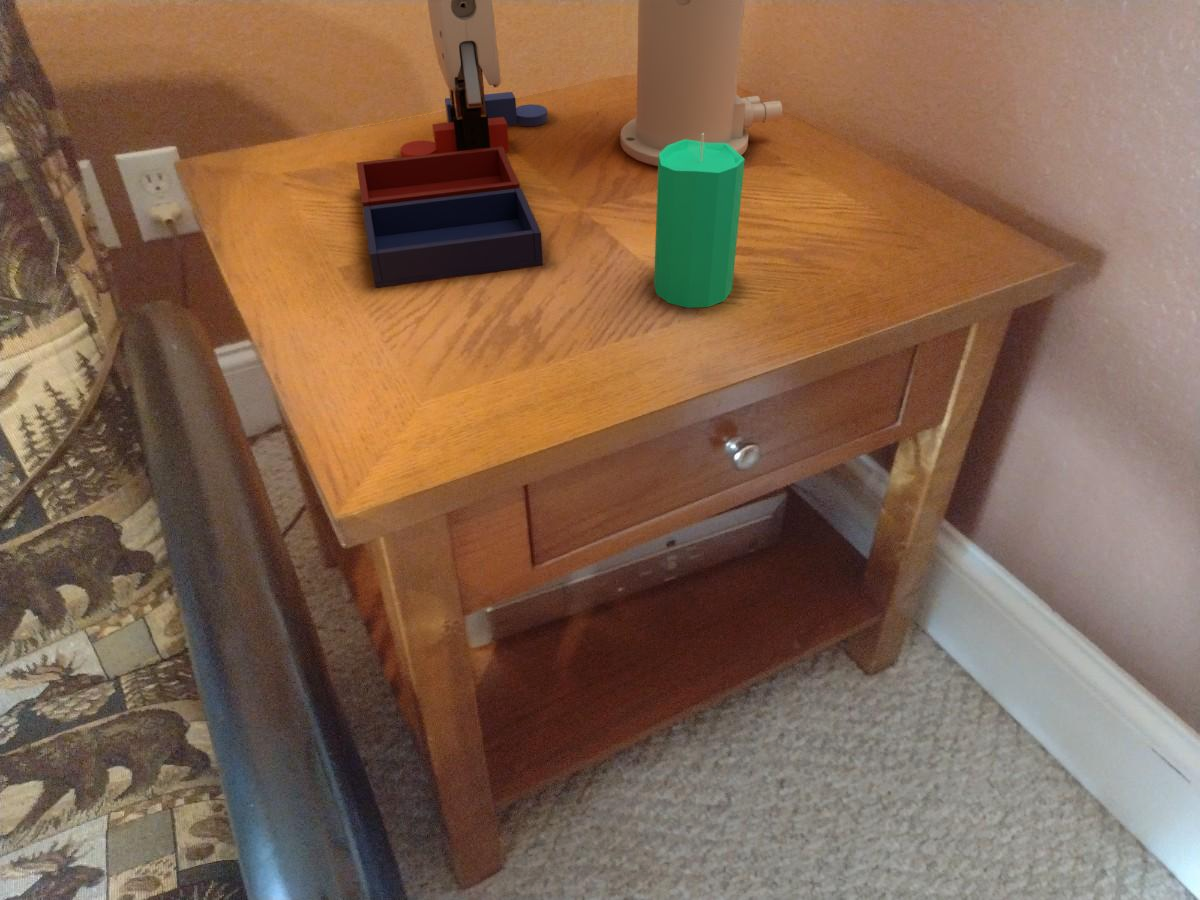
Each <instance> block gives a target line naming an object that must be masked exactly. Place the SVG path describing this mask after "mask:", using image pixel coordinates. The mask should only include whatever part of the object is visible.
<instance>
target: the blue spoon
mask: <svg viewBox="0 0 1200 900" xmlns="http://www.w3.org/2000/svg"><path fill="white" fill-rule="evenodd" d="M484 96H485V108H486V113H487V116H488V118H498V117H504V118H505V120H506V123H507V127H508V126H517V125H518V126H522V127H538V126H541V125H544V124H546V123H547V122H548V120H549V116H548V108H547V107H545V105H540V104H528V103H527V104H523V105H518V106H517V103H516V102H517V101H516V100H517V99H516V97H515V95H514V93H513V91H506V92H505V91H504V92H496V93H495V92H494V93H487V94H485V93H484ZM444 105H445V113H446V114H445V115H446V120H447V122H446V123H450V122H451V116H450V107H455V105H454V106H452V105H451V101H450V97H446V98H444Z"/></svg>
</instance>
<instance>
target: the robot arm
mask: <svg viewBox="0 0 1200 900" xmlns="http://www.w3.org/2000/svg"><path fill="white" fill-rule="evenodd" d="M426 1H427V7H428V16H429V22H430V29H431V34H432V40H433V45H434V50H435V54H436V59H437V63H438V66H439V69H440V72H441V74H442V77H443V80H444V83H445V85H446V87H447V88H448V92H449V98H450V101H451V105H452V106H454V105H455V107H450V116H451V122H454V130H455V138H456V147H457V151H465V150H474V149H483V148H490V138H489V127H488V116H487V113H486V108H485V96H484V95H485V85H484V77H485V80H486V81H487V84H488V85H489V86H492V87H493V88H498V87H499V86H500V85H501V83H502V77H501V69H500V61H499V51H498V43H497V33H496V23H495V15H494V14H495V13H494V6H493V0H426ZM637 10H638V11H637V14H638V15H637V57H636V59H637V61H636V65H637V67H636V111H635V112H636V116H635V117H634V118H632V119H631V120H629V121H628V122H627V123H625V124H623V126H622V128H621V129H620V135H619V138H620V139H619V141H620V147H621V149H622V150H623V152H625V153H626V154H627V155H628V156H629V157H631V158H633V159H634V160H636V161H639V162H641V163H644V164H647V165H650V166H654V167H658V157H659V153H660V152H661V151H662V150H663V149H664V148H665V147H666V146H667V145H670V144H673V143H676V142H678V141H681V140H684V139H687V140H693V141H699V142H701V139H702V133H704V141H703V142H705V143H727V144H729V145H730V146H731V147H732V148H733V149H734V150H735V151H737V152H738V153H739V154H740V155H741V156H743V155H744V153H745V152H746V151H747V149H748V146H749V136H750V135H749V133H748V130H747V128H748V129H749V128H751V127H752V125H753V124H756V123H762V124H765V123H773V122H774V123H775V122H779V121H781V120H782V118H783V112H784V111H783V104H782V102H781V101H780V100H772V101H769V100H768V101H762V102H761V98H760V96H759V95H752V96H751V95H750V96H745V97H741V96H740V95H739V94H738V81H739V69H740V60H741V59H740V58H741V46H742V35H743V24H744V11H745V0H638V9H637ZM483 75H484V76H483Z"/></svg>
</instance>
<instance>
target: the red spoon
mask: <svg viewBox="0 0 1200 900" xmlns="http://www.w3.org/2000/svg"><path fill="white" fill-rule="evenodd" d="M488 127H489V138H490V148H492V147H503V148H504V151H505V153H506V152H510V144H509V131H508V129H509V128H508V126H507V123H506V120H505V118H504V117H498V118H488ZM432 132H433V133H432V134H433V139H434V141H431V140H422V139H421V140H412V141H408V142H406V143H404V144H403V145H402V146H400V149H399V150H400V158H402V157H411V156H420V155H429V154H438V153H447V152H456V151H457V147H456V138H455V130H454V122H450V123H448V122H441V123H440V122H439V123H433V124H432Z"/></svg>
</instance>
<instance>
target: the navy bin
mask: <svg viewBox="0 0 1200 900" xmlns="http://www.w3.org/2000/svg"><path fill="white" fill-rule="evenodd" d="M362 213H363V220H364V228H365V234H366V242H367V248H368V257H369V260H370V266H371V271H372V276H373V282H374V287H375V288H376V289H377V288H382V287H391V286H398V285H405V284H411V283H419V282H427V281H428V282H429V281H435V280H442V279H443V280H444V279H449V278H455V277H464V276H472V275H479V274H487V273H493V272H500V271H501V272H502V271H507V270H515V269H523V268H531V267H537V266H543V265H544V262H543V260H544V259H543V244H542V241H543V240H542V231H541V229H540V227H539V224H538V222H537V220H536V218H535V215H534V213H533V211H532V209H531V206H530V204H529V202H528V200H527V198H526V196H525V193H524V191H523V189H522V188H521V187H520V188H516V189H508V190H499V191H491V192H483V193H474V194H466V195H458V196H449V197H441V198H433V199H424V200H416V201H407V202H399V203H391V204H382V205H374V206H366V207H363V206H362Z"/></svg>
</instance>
